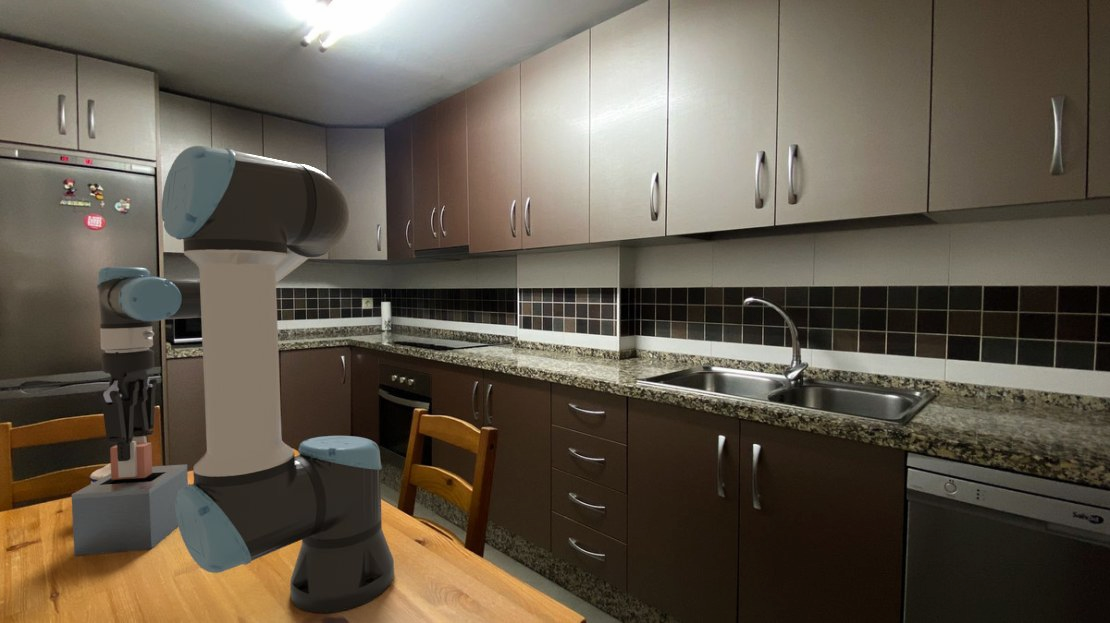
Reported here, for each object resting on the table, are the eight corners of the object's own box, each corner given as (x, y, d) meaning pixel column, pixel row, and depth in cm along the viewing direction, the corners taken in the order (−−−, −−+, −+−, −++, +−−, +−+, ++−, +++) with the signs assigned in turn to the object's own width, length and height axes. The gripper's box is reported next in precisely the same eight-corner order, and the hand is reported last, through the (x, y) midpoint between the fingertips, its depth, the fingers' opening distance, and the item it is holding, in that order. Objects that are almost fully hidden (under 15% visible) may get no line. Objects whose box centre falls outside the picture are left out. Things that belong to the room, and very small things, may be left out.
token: (144, 477, 95) (143, 446, 95) (111, 479, 94) (110, 447, 94) (152, 473, 98) (151, 442, 98) (119, 475, 97) (118, 444, 97)
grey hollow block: (151, 549, 91) (149, 489, 91) (74, 555, 89) (71, 494, 89) (189, 517, 104) (187, 464, 104) (122, 522, 102) (120, 468, 101)
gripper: (124, 354, 88) (130, 487, 89) (173, 344, 103) (178, 458, 105) (73, 356, 87) (80, 491, 88) (131, 345, 102) (136, 460, 103)
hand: (133, 473), depth 96 cm, fingers open, 2 cm apart
